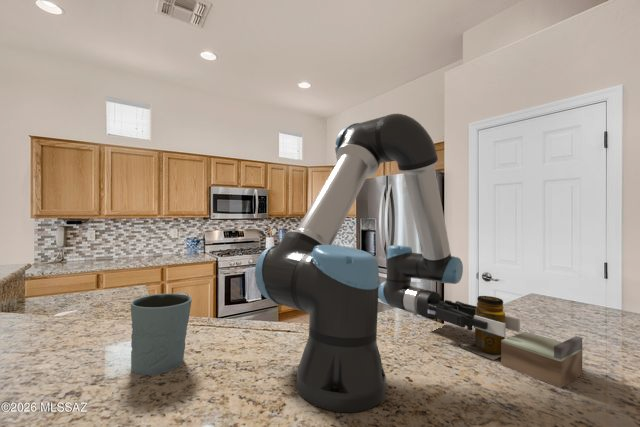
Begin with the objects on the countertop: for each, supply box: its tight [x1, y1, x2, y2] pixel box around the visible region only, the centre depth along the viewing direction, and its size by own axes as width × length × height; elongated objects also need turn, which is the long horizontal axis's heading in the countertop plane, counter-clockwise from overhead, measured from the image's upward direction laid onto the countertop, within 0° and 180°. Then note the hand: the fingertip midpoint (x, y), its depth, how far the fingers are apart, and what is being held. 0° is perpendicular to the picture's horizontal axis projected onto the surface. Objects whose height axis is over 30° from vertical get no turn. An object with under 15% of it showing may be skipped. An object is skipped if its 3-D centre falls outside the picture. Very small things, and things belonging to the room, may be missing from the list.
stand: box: [500, 331, 583, 389], centre depth 59 cm, size 11×10×7 cm
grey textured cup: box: [130, 293, 193, 376], centre depth 54 cm, size 10×10×12 cm
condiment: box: [461, 295, 506, 361], centre depth 67 cm, size 7×8×12 cm
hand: (512, 327), depth 64 cm, fingers closed on condiment, 6 cm apart
